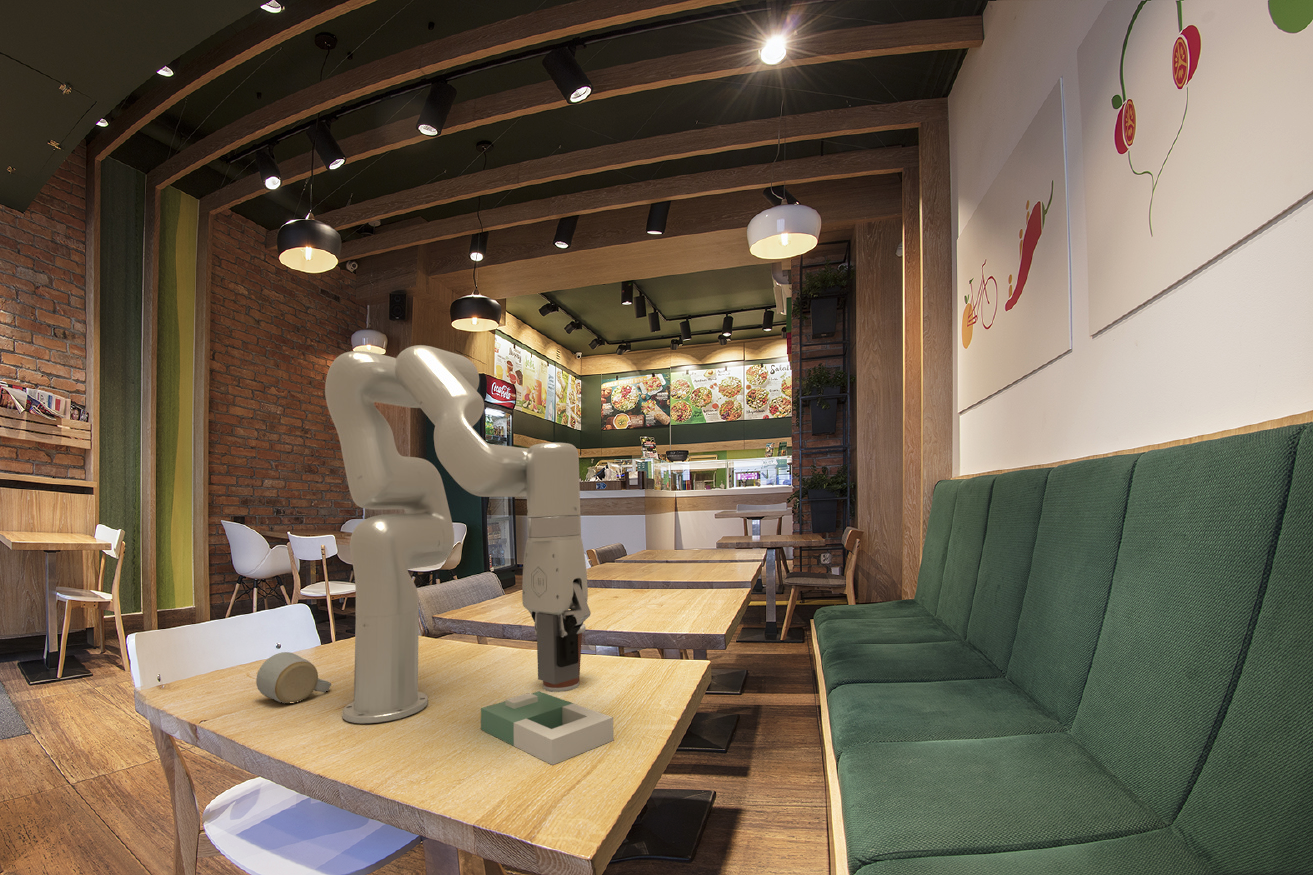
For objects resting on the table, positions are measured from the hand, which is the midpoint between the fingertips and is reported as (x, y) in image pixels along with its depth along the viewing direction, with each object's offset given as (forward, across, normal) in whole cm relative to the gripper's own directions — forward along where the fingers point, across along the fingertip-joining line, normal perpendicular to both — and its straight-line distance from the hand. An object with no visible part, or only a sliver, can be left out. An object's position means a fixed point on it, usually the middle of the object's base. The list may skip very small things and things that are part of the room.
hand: (557, 660), depth 82 cm
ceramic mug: (+10, -53, -19) cm, 57 cm away
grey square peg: (+2, 0, 0) cm, 2 cm away
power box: (+10, -3, 0) cm, 11 cm away
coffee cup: (+11, -20, +15) cm, 27 cm away
